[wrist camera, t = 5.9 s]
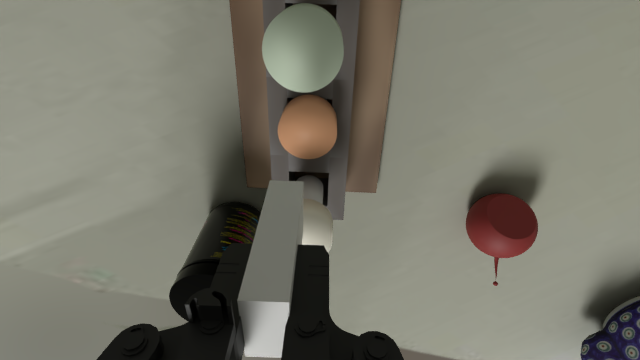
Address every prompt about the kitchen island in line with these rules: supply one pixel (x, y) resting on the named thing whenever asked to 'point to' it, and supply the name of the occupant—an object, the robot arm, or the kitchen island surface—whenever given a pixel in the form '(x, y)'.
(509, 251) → the fruit
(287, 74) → the sage button
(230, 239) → the supplement container
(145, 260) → the kitchen island surface
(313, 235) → the cream button
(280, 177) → the button board
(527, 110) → the kitchen island surface
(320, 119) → the orange capped peg
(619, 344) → the teapot
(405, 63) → the kitchen island surface
